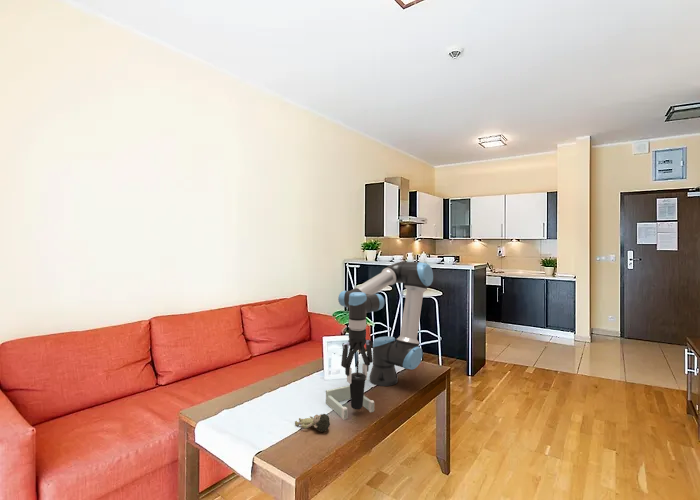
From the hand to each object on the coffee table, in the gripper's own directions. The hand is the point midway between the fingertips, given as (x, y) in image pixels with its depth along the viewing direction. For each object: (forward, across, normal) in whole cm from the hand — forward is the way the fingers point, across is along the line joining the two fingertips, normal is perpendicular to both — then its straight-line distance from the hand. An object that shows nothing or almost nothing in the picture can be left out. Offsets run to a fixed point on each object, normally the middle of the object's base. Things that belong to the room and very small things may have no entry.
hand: (357, 380), depth 163 cm
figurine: (+15, +22, +2) cm, 26 cm away
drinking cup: (+12, 0, 0) cm, 12 cm away
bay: (+15, 0, -6) cm, 16 cm away
